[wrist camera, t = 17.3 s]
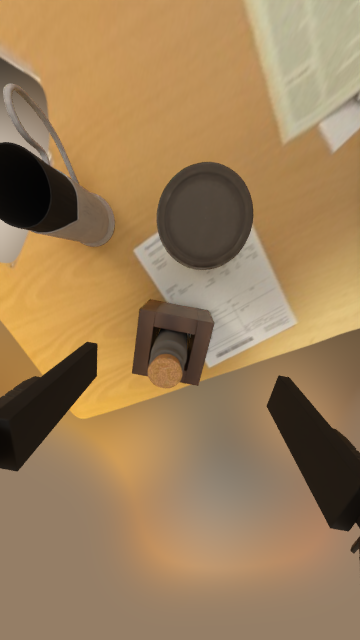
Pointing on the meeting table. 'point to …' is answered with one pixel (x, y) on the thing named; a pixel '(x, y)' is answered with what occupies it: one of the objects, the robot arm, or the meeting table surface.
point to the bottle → (168, 358)
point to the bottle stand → (176, 320)
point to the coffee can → (205, 215)
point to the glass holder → (47, 189)
